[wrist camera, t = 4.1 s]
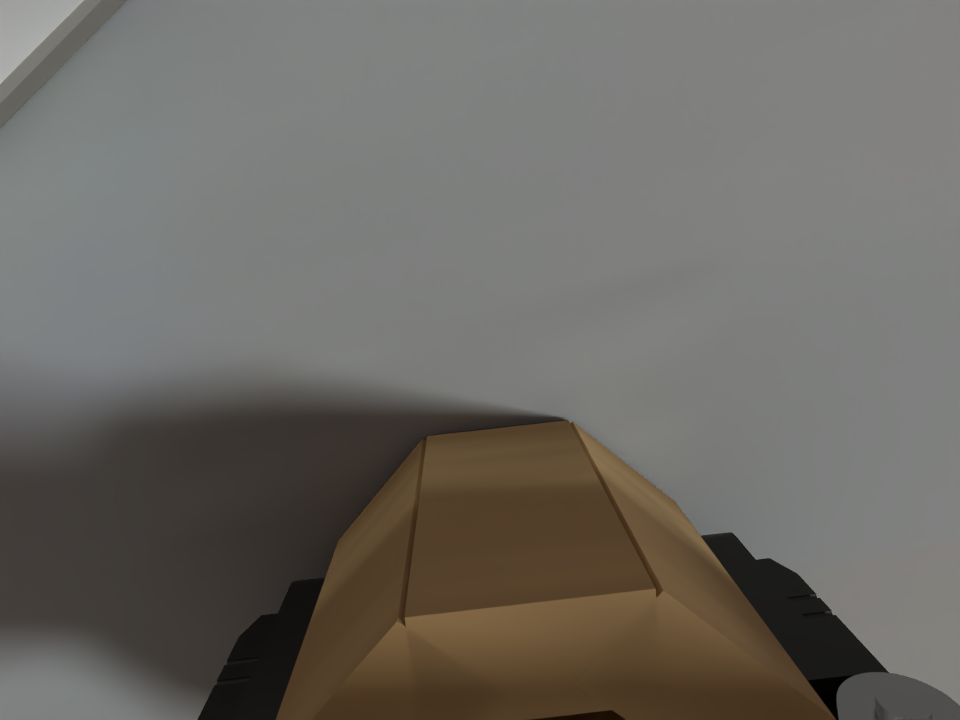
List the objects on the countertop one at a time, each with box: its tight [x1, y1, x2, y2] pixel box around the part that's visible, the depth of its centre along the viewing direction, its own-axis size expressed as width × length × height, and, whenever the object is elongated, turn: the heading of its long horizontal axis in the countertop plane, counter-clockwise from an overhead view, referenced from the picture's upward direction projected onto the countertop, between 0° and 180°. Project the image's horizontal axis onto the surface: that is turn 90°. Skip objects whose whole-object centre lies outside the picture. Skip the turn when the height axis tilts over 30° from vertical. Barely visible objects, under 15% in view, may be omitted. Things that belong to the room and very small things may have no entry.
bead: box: [276, 420, 836, 720], centre depth 9 cm, size 6×6×5 cm
